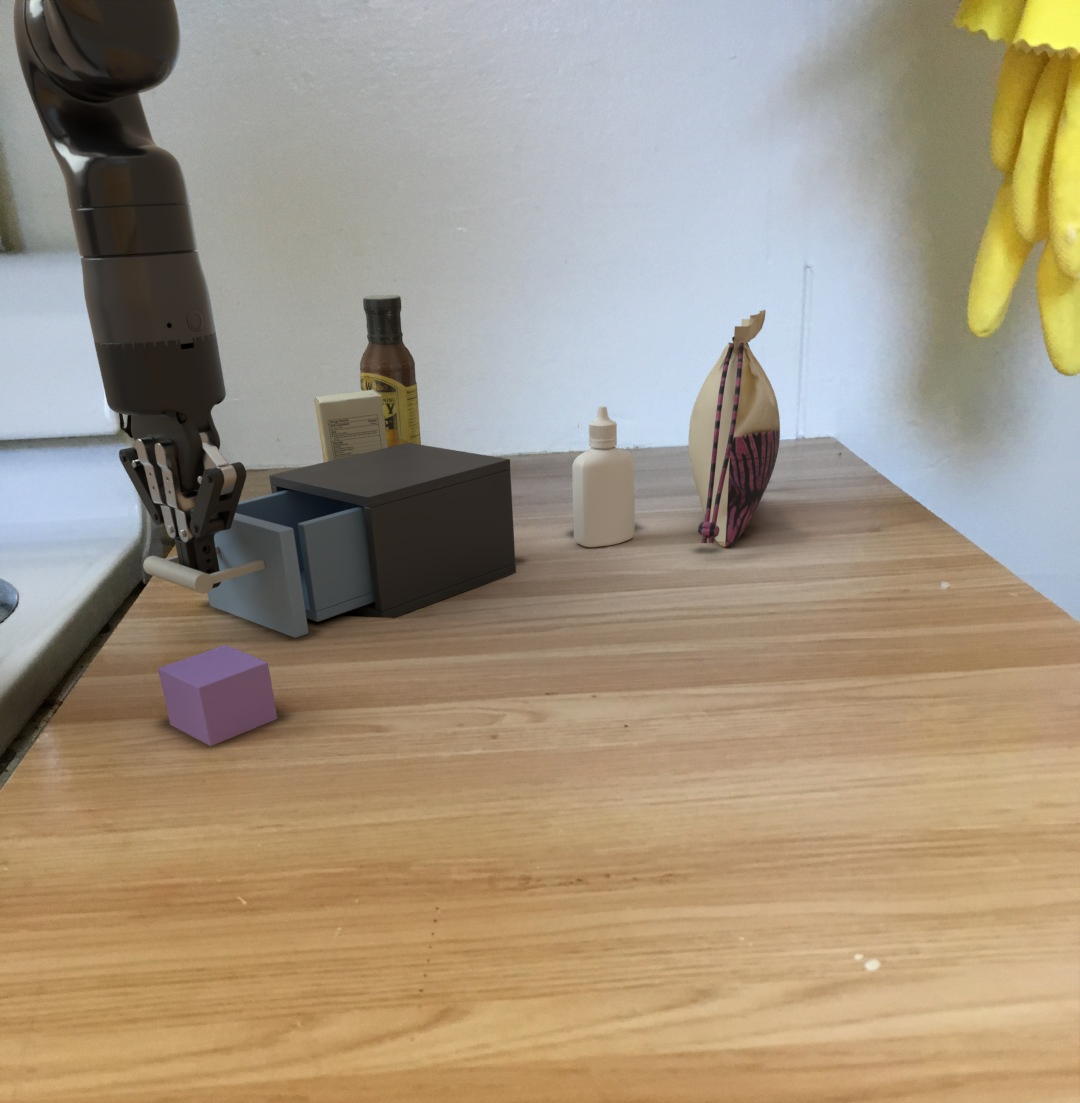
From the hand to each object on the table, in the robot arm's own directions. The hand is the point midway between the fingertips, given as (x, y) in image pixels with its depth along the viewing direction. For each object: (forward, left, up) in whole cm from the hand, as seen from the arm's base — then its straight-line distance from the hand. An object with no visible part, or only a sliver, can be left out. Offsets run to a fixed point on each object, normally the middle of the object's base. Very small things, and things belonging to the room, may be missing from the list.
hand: (203, 587), depth 76 cm
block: (+8, -14, -4) cm, 16 cm away
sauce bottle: (-4, +50, -5) cm, 51 cm away
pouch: (+35, +35, -5) cm, 50 cm away
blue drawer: (+4, +6, -4) cm, 8 cm away
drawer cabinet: (+9, +15, -4) cm, 19 cm away
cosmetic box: (-2, +34, -5) cm, 35 cm away
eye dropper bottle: (+24, +28, -5) cm, 38 cm away
